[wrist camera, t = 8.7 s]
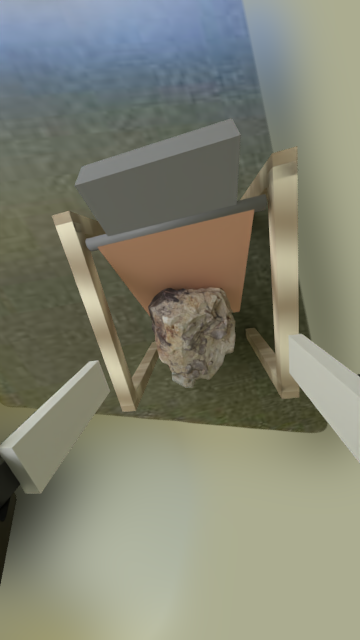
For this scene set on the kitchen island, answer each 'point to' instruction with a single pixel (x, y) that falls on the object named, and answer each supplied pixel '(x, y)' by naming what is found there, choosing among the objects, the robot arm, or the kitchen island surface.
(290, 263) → the frame
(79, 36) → the kitchen island surface
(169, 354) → the rock
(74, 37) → the kitchen island surface
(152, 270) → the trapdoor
